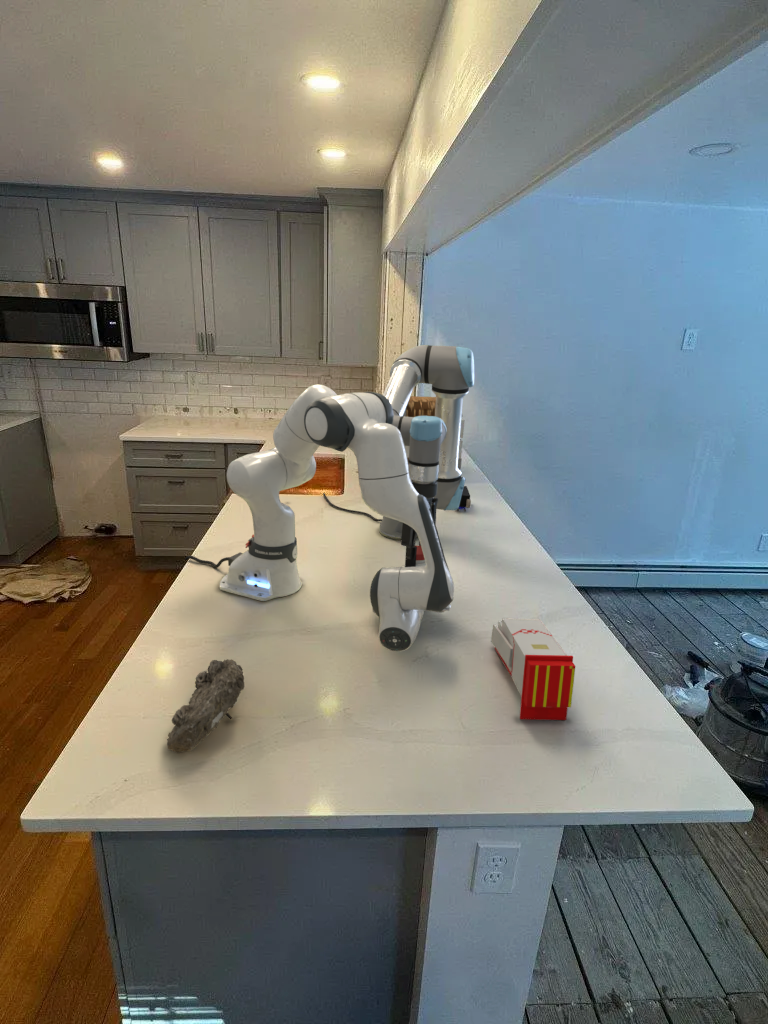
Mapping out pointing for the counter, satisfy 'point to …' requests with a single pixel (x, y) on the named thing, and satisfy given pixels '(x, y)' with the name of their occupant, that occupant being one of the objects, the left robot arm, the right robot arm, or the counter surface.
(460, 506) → the figurine character
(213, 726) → the fossil
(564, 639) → the counter surface
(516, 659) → the toy
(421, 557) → the lid
